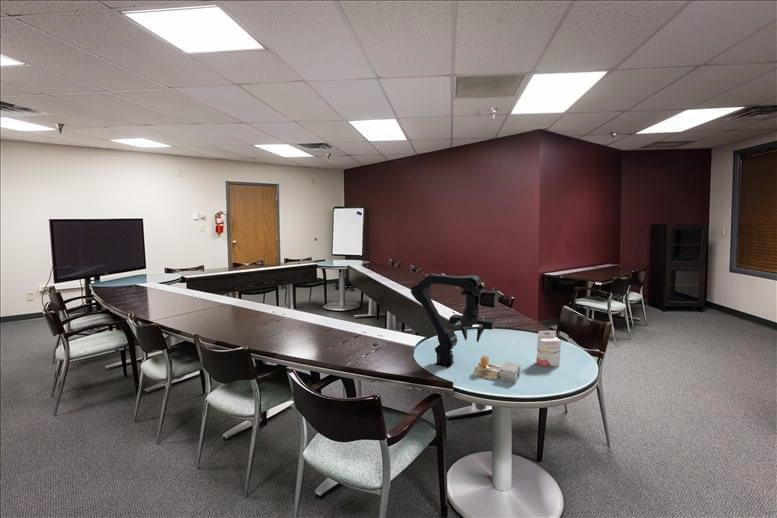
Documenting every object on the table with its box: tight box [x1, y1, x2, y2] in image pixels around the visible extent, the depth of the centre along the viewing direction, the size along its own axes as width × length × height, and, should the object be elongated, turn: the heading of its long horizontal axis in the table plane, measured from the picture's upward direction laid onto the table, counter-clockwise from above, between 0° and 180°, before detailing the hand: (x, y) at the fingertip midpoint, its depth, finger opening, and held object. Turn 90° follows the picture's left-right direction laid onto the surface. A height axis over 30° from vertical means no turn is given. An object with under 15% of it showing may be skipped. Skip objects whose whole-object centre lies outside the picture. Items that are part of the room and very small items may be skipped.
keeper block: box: [499, 361, 521, 385], centre depth 155 cm, size 6×8×5 cm
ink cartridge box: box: [536, 330, 562, 367], centre depth 167 cm, size 9×5×15 cm, turn 92°
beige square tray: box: [472, 361, 502, 381], centre depth 160 cm, size 10×10×3 cm
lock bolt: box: [480, 355, 502, 375], centre depth 159 cm, size 8×3×5 cm, turn 59°
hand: (471, 341), depth 162 cm, fingers open, 5 cm apart
